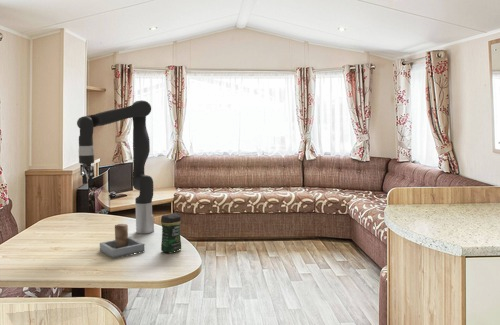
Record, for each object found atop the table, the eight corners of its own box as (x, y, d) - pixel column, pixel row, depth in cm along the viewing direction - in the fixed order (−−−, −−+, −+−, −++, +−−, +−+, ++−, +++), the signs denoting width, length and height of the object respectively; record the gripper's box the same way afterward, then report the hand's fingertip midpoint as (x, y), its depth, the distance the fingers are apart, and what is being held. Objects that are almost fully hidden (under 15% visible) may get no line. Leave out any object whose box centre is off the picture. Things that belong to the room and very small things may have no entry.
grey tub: (130, 244, 218) (130, 237, 218) (144, 251, 206) (144, 243, 206) (100, 250, 208) (99, 242, 208) (112, 258, 196) (112, 250, 195)
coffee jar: (169, 254, 202) (168, 216, 200) (158, 251, 206) (157, 214, 205) (184, 250, 209) (183, 213, 207) (173, 247, 214) (173, 211, 212)
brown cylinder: (125, 246, 211) (124, 223, 210) (130, 249, 207) (129, 225, 205) (113, 249, 207) (112, 225, 206) (118, 252, 203) (117, 227, 202)
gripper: (98, 154, 220) (99, 185, 222) (88, 153, 231) (89, 182, 232) (83, 155, 215) (85, 186, 217) (74, 153, 226) (75, 183, 228)
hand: (87, 184), depth 225 cm, fingers open, 8 cm apart
